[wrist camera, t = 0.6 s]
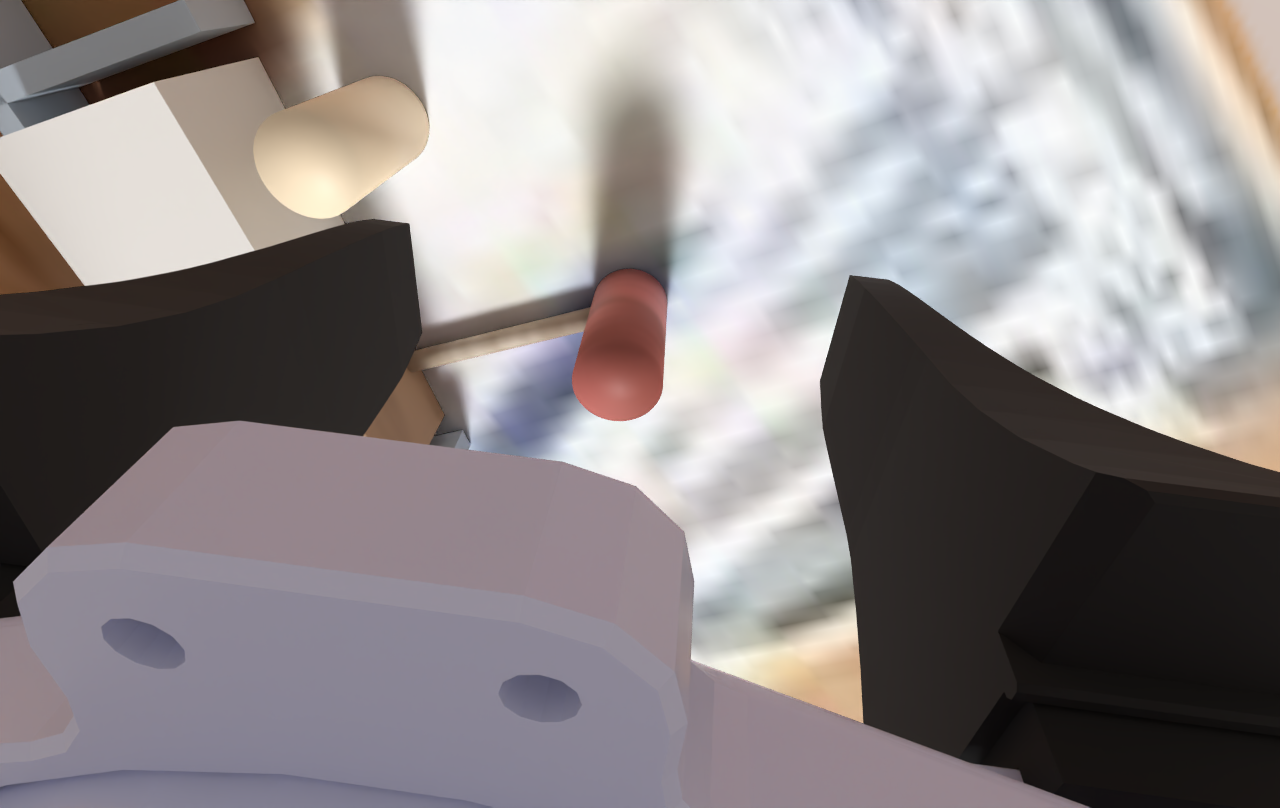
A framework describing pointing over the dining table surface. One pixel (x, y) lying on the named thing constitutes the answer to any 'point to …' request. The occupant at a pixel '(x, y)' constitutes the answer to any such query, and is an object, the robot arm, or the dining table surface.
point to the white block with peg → (206, 168)
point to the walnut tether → (604, 370)
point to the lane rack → (106, 67)
